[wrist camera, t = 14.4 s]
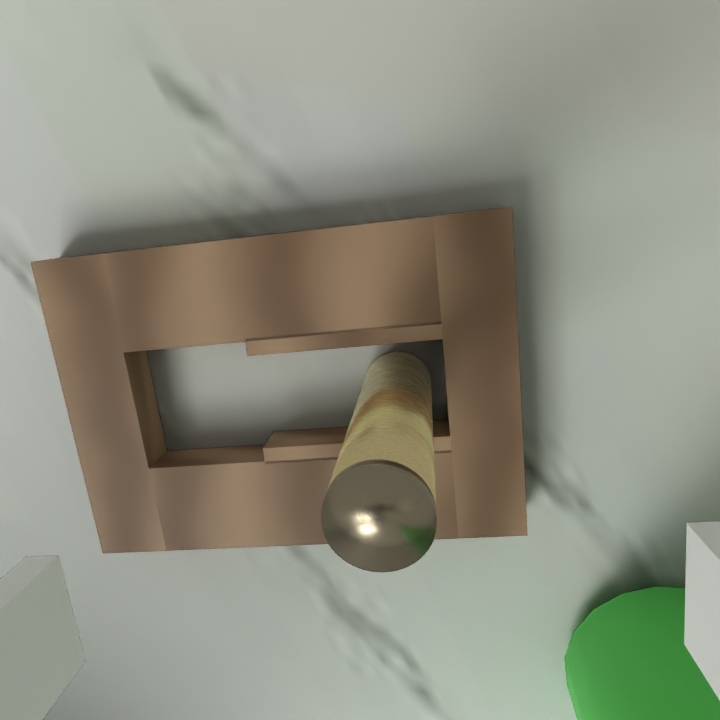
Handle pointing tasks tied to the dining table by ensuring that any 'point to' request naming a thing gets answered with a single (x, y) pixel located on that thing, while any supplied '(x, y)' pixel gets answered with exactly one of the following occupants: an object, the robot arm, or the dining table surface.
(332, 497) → the peg
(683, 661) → the bottle
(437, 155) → the dining table surface
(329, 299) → the keyhole board
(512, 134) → the dining table surface
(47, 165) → the dining table surface
